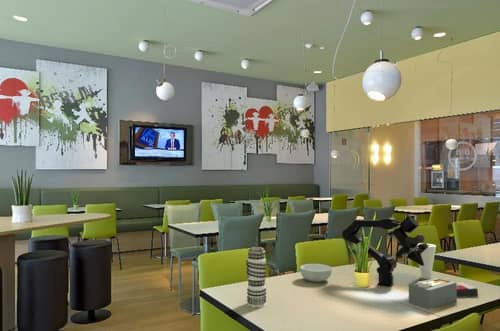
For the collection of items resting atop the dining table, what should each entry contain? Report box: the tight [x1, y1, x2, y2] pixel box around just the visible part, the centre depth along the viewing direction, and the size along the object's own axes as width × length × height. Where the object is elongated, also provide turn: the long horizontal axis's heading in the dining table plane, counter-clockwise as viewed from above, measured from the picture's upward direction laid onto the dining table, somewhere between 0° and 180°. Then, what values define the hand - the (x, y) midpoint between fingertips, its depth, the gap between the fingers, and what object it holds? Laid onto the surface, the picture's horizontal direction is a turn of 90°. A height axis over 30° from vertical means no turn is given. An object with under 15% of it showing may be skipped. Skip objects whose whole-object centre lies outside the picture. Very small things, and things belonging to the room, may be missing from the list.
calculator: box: [456, 281, 479, 298], centre depth 188 cm, size 11×4×15 cm
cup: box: [416, 242, 437, 280], centre depth 216 cm, size 11×11×18 cm
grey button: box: [416, 280, 430, 289], centre depth 172 cm, size 5×5×3 cm
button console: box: [408, 277, 458, 310], centre depth 176 cm, size 10×21×8 cm, turn 123°
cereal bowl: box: [299, 263, 333, 283], centre depth 212 cm, size 17×17×7 cm
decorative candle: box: [245, 246, 268, 308], centre depth 173 cm, size 9×9×25 cm
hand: (423, 265), depth 188 cm, fingers closed
